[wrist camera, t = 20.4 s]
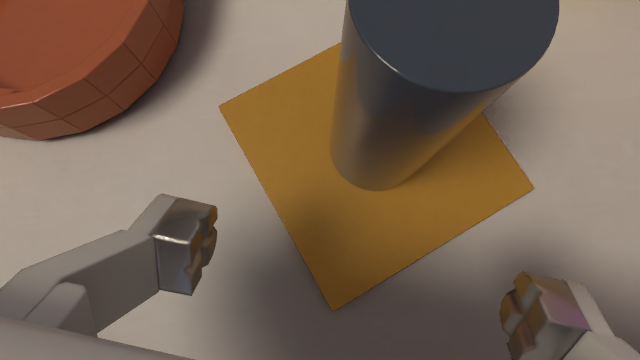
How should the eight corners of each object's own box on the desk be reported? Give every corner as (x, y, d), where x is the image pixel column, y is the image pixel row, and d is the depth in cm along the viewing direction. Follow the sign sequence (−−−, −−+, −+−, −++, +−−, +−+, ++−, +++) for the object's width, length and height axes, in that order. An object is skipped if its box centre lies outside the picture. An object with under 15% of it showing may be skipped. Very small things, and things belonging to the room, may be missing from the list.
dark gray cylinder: (438, 163, 19) (603, 32, 8) (357, 208, 18) (419, 130, 8) (391, 87, 20) (484, -127, 9) (312, 128, 19) (309, -46, 8)
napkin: (530, 189, 19) (535, 188, 19) (332, 310, 18) (332, 311, 17) (407, 11, 21) (408, 6, 21) (219, 109, 20) (217, 106, 19)
